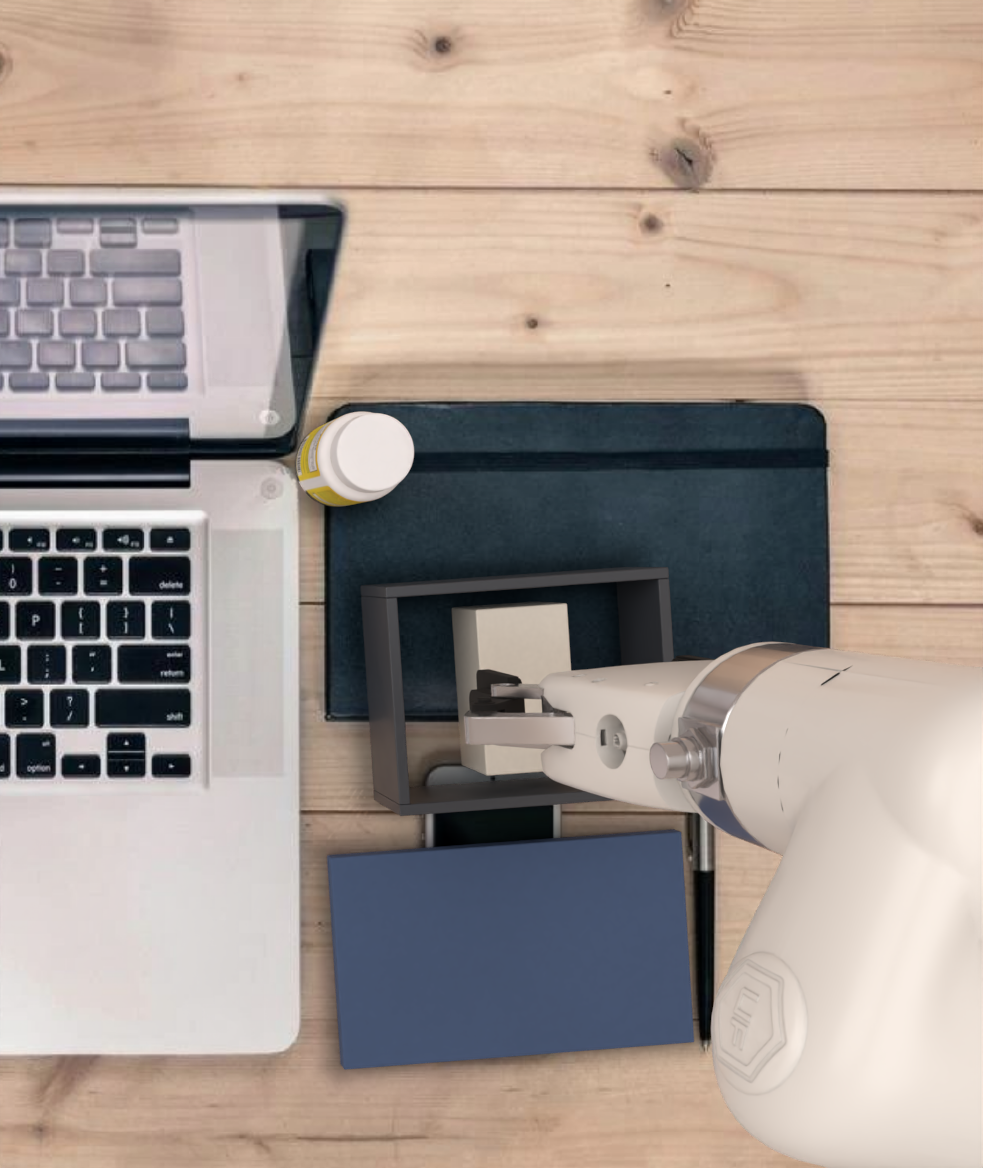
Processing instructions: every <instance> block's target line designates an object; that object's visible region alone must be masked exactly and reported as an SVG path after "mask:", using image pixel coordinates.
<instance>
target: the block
mask: <svg viewBox="0 0 983 1168" xmlns="http://www.w3.org/2000/svg"><path fill="white" fill-rule="evenodd" d="M451 621H452V622H451V623H452V636H453V637H452V639H453V653H454V654H453V655H454V667H455V682H456V683H455V684H456V701H457V715H458V731H459V747H460V762H461V766H463V767H465V768H468V769H470V770H472V771H475V772H477V773H479V774H482V775H484V776H486V777H490V776H503V775H504V776H505V775H506V776H507V775H516V774H517V775H519V774H531V773H532V774H533V773H544V772H543V768H542V761H541V753H542V752H543V751H544V750H546V749H534V748H521V747H508V746H497V745H471V744H466V743H465V727H464V715H465V714H466V713H467V711H468V710H470V706H469V694H470V691H471V690H474V689H477V681H476V673H477V671H478V670H484V669H490V670H494V671H498V672H502V673H506V674H510V675H514V676H518V677H519V678H520V679H521V681H522V684H540V682H541V681H542V680H543V679H544V678H545V677H546V676H547V675H548V674H550V673H556V672H563V671H572V663H571V661H572V660H571V647H570V646H571V645H570V629H569V614H568V604H567V603H566V602H552V601H538V600H537V601H536V600H535V601H523V602H509V603H493V604H480V605H478V604H477V605H467V606H452V607H451ZM524 700H525V713H542V700H541V699H524ZM567 713H570V712H567Z"/></svg>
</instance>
